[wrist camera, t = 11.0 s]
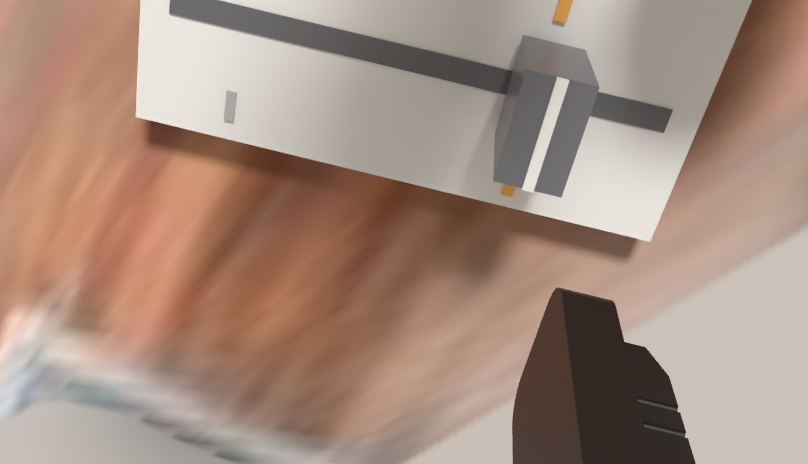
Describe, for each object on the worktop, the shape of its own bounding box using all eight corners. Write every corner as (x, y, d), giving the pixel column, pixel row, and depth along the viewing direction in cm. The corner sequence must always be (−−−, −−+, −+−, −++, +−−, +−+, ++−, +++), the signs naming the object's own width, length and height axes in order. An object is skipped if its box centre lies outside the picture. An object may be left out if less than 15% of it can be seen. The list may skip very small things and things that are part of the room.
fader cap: (522, 34, 35) (526, 70, 30) (585, 49, 35) (600, 88, 30) (494, 132, 38) (492, 183, 32) (553, 147, 38) (561, 199, 32)
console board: (164, -153, 36) (145, -152, 34) (742, -14, 36) (755, -5, 34) (151, 105, 42) (134, 118, 40) (644, 224, 42) (650, 243, 40)
